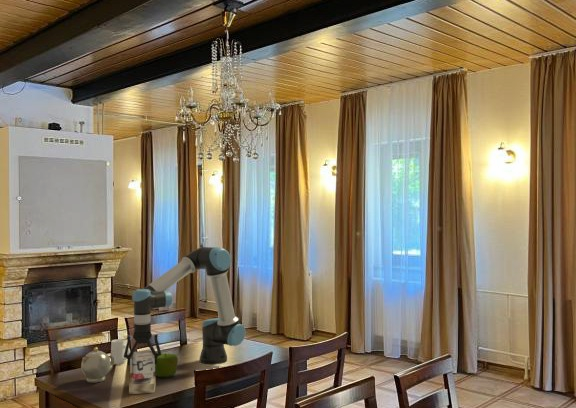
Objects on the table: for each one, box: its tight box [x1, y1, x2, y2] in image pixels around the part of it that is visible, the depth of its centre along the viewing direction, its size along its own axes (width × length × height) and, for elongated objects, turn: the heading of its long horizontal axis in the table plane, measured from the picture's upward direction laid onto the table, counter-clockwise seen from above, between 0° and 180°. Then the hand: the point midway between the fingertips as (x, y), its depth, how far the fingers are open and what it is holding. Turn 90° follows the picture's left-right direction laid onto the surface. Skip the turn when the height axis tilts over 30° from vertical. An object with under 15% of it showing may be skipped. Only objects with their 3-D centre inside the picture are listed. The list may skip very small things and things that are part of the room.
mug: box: [110, 338, 131, 365], centre depth 315 cm, size 8×12×12 cm
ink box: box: [131, 349, 154, 380], centre depth 265 cm, size 8×5×12 cm, turn 124°
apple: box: [154, 353, 179, 379], centre depth 287 cm, size 12×12×11 cm
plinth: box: [128, 375, 157, 395], centre depth 265 cm, size 11×13×4 cm
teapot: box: [80, 346, 115, 384], centre depth 281 cm, size 18×14×16 cm
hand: (142, 371), depth 265 cm, fingers closed on ink box, 9 cm apart
